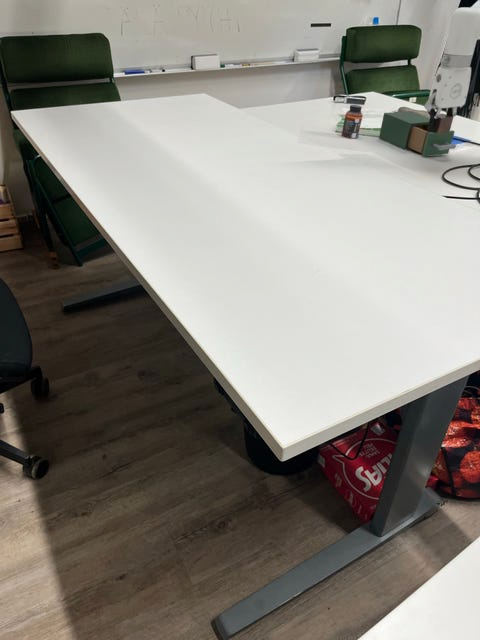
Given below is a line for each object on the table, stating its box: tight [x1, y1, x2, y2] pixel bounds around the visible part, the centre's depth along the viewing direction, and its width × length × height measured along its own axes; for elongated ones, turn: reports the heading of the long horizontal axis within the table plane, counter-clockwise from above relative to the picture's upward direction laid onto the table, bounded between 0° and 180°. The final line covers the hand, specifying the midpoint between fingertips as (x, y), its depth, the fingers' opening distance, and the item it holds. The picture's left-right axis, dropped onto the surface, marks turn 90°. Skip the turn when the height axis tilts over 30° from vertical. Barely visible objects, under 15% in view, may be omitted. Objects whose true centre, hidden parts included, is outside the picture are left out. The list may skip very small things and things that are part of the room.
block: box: [436, 113, 454, 134], centre depth 140 cm, size 4×4×4 cm
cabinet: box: [378, 110, 430, 151], centre depth 170 cm, size 15×12×9 cm
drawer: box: [407, 124, 457, 157], centre depth 161 cm, size 18×10×7 cm, turn 23°
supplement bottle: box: [341, 104, 363, 140], centre depth 171 cm, size 6×6×11 cm
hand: (438, 130), depth 141 cm, fingers closed on block, 4 cm apart
